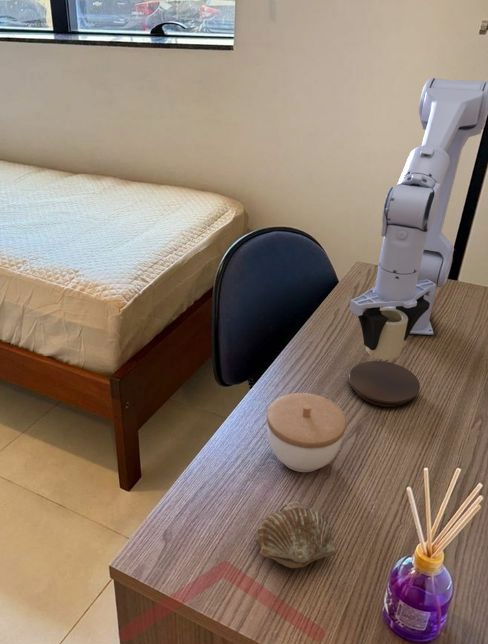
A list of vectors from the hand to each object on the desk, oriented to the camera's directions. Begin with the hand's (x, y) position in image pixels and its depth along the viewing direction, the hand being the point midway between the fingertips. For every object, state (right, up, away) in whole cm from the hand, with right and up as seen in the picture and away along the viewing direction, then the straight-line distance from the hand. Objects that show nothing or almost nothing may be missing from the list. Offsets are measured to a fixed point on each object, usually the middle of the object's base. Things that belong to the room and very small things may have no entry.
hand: (384, 342), depth 96 cm
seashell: (-20, -26, -22) cm, 39 cm away
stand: (+1, -8, +4) cm, 9 cm away
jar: (0, -1, +1) cm, 2 cm away
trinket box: (-15, -17, -9) cm, 24 cm away
